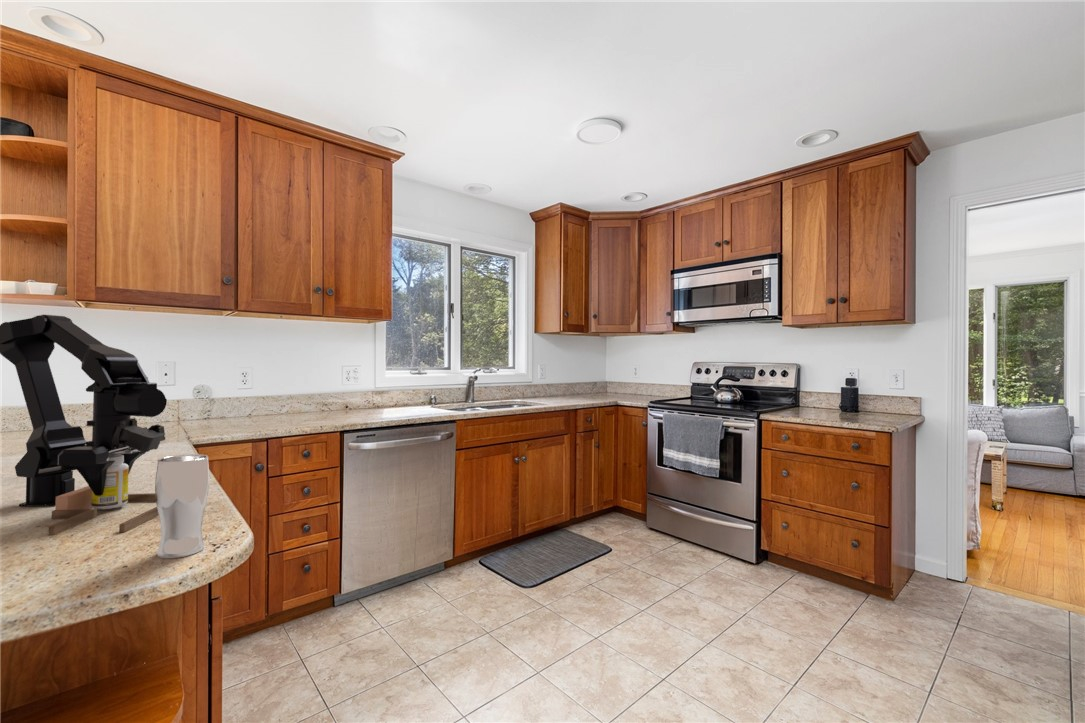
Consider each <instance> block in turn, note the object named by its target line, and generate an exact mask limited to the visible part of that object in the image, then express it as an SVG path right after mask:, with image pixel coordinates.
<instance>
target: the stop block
mask: <svg viewBox="0 0 1085 723" xmlns="http://www.w3.org/2000/svg"><path fill="white" fill-rule="evenodd" d="M91 498H92V490H91V488H90V487H89V485H87V486H84V487H81V488H78V489H74V491H72V492H69V493H66V494H63V495H60V496H57V497H56V505H54V506H55V508H54V510H71V509H93V508H92V506H91Z"/></svg>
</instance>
